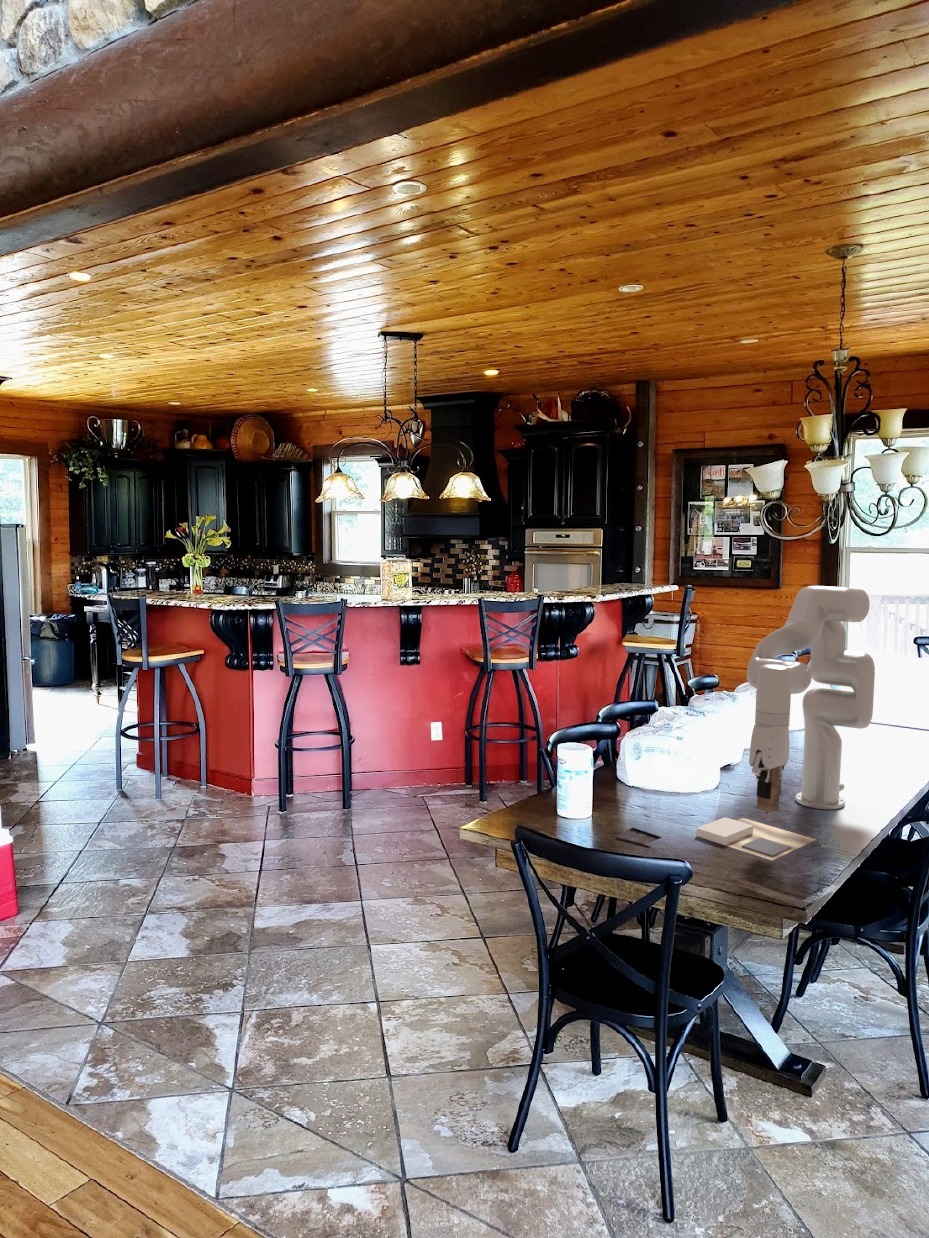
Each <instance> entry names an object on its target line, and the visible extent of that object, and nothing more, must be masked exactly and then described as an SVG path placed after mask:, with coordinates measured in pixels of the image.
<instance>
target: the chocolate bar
mask: <svg viewBox="0 0 929 1238" xmlns="http://www.w3.org/2000/svg"><path fill="white" fill-rule="evenodd" d="M662 838H663V837H662V836H659V835H656V834H653V833H650V832H648V831H645V830H641V829H638V828H636V827H630V828H629V829H627V830H625V831H624V832H623V833H620V834H619V835H617V836H615V840H618V841H623V842H625V843H629V844H634V845H636V846H637V845H638V846H641V845H642V847H644V846H645V848H648V847H650V848H651V846H649V845H646V844H648V843H651V842H654V841H657V840H659V839H662Z"/></svg>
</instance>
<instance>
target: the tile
mask: <svg viewBox="0 0 929 1238" xmlns="http://www.w3.org/2000/svg"><path fill="white" fill-rule="evenodd" d="M695 833H696V835H695V836H696V837H697V838H700V839H705V840H706V841H710V842H713V843H716V844H719V845H722V846H725V845H727V844H730V843H732V842H734V841H737V840H739V839H742V838H744V837H746V836H749V835H751V834H753V825H750V824H746V823H743V822H740V821H736V819H732V818H729V817H726V816H724V817H721V818H719V819H716V820H714V821H711V822H709V823H706V824H703V825H701V826H698V827H696V832H695Z"/></svg>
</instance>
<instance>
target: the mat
mask: <svg viewBox="0 0 929 1238" xmlns="http://www.w3.org/2000/svg"><path fill="white" fill-rule="evenodd" d="M742 847H743V848H746V849H749V850H752V851H756V852H759V853H762V854H765V855H768V856H771V857H774V856H776V855H778V854H780V853H782V852H785V851H787V850H789V849H791V847H790V846H787V845H784V844H780V843H777V842H774V841H771V840H767V839H764V838H761V837H760V838H758V839H755V840H753V841H751V842H749V843H746V844H744V845H742Z"/></svg>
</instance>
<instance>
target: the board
mask: <svg viewBox="0 0 929 1238" xmlns="http://www.w3.org/2000/svg"><path fill="white" fill-rule="evenodd" d="M735 820H736V819H735ZM736 821H740V822H743V823H746V824H750V825H753V834H751V835H749V836H746V837H744V838H742V839H739V840H737V841H734V842H732V843H730V844H727V845H724V846H726V847H729V848H731V849H735V850H737V851H741V852H743V853H747V854H750V855H753V856H757V857H759V858H762V859H765V860H768V861H775V860H777V859H779V858H781V857H783V856H785V855H787V854H789V853H791V852H792V853H793V852H794V851H795V850H797V849H801V848H802V847H804V846H806V845H809V844H811V843H812V842H814V841H817V839H816V838H813V837H810V836H806V835H802V834H799V833H796V832H792V831H789V830H786V829H783V828H779V827H775V826H772V825H768V824H765V823H762V822H758V821H756V820H755V821H754V820H751V819H748V818H744V817H741V818H738V819H737V820H736ZM760 837H761V838H764V839H767V840H771V841H774V842H777V843H780V844H784V845H787V846H790V847H791V849H789V850H787V851H785V852H782V853H780V854H778V855H776V856H774V857H771V856H768V855H765V854H762V853H759V852H756V851H752V850H749V849H746V848H743V847H742V845H744V844H746V843H749V842H751V841H753V840H755V839H758V838H760Z"/></svg>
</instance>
